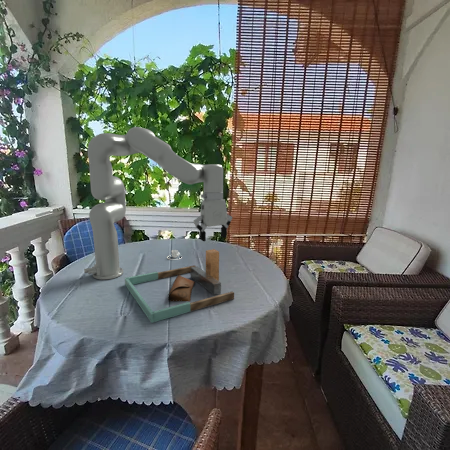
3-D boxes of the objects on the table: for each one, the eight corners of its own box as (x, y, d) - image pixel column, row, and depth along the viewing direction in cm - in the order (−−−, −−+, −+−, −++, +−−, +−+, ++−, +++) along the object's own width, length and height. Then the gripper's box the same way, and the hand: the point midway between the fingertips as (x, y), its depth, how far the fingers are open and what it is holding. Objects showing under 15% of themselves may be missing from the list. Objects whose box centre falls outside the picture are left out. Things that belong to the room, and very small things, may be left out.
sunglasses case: (191, 301, 104) (181, 286, 102) (175, 310, 104) (165, 295, 103) (196, 281, 121) (187, 268, 120) (181, 288, 122) (173, 276, 121)
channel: (190, 311, 97) (190, 304, 97) (157, 278, 124) (157, 272, 123) (234, 298, 107) (234, 292, 106) (194, 270, 133) (194, 265, 133)
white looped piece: (175, 254, 156) (175, 247, 155) (186, 257, 152) (186, 250, 151) (163, 258, 149) (163, 251, 148) (174, 261, 145) (174, 254, 144)
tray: (151, 322, 90) (151, 314, 89) (125, 284, 116) (124, 277, 116) (190, 311, 97) (190, 303, 96) (157, 278, 124) (157, 271, 123)
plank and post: (214, 295, 109) (214, 260, 106) (190, 277, 125) (190, 246, 122) (229, 291, 113) (230, 257, 110) (204, 274, 129) (204, 244, 126)
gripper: (198, 199, 104) (198, 244, 108) (237, 196, 113) (236, 237, 117) (189, 196, 110) (190, 239, 114) (226, 194, 119) (226, 234, 123)
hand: (213, 238), depth 116 cm, fingers open, 9 cm apart
